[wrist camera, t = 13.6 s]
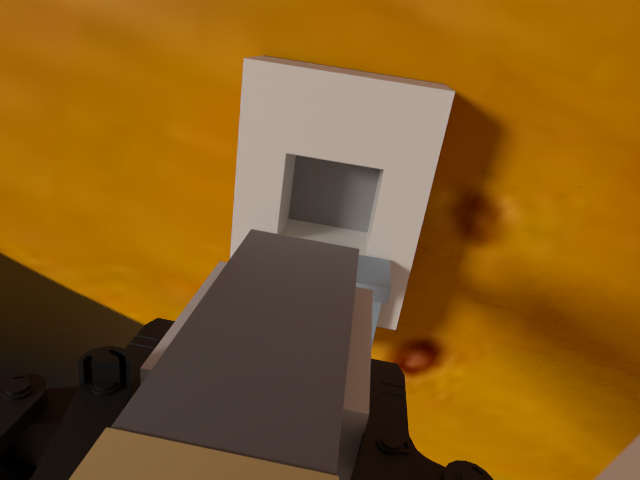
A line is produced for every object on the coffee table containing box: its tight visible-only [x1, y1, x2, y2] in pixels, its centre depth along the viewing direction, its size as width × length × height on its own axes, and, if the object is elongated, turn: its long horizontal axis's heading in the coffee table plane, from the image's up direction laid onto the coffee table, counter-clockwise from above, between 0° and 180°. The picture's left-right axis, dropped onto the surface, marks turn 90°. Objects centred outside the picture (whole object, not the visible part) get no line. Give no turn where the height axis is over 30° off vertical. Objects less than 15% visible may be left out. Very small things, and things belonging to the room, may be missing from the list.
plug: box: [69, 229, 359, 480], centre depth 14 cm, size 5×5×14 cm
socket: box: [230, 56, 455, 330], centre depth 32 cm, size 16×12×5 cm
